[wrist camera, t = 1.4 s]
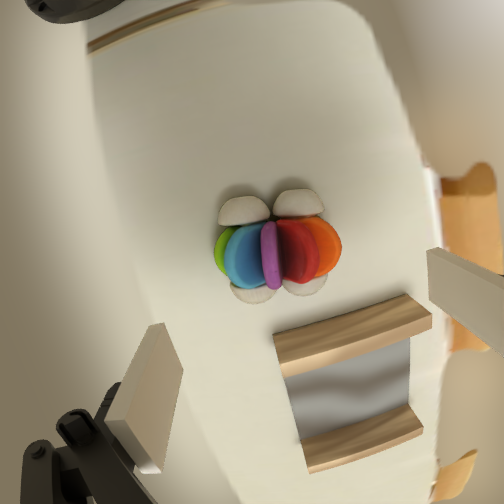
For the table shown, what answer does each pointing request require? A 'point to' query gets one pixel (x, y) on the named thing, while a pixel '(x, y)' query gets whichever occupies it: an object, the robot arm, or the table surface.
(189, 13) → the table surface
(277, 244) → the rainbow petal toy
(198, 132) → the table surface
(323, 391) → the bay
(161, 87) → the table surface
